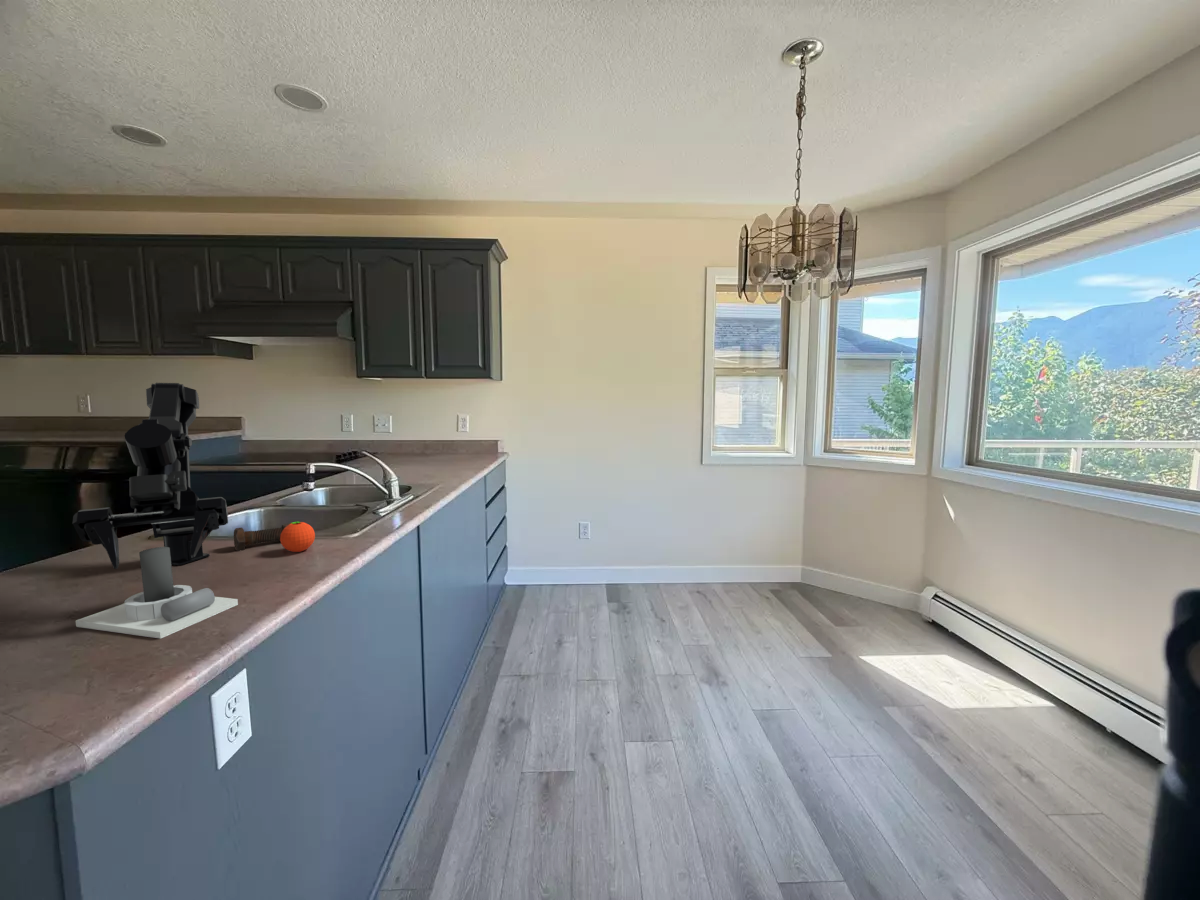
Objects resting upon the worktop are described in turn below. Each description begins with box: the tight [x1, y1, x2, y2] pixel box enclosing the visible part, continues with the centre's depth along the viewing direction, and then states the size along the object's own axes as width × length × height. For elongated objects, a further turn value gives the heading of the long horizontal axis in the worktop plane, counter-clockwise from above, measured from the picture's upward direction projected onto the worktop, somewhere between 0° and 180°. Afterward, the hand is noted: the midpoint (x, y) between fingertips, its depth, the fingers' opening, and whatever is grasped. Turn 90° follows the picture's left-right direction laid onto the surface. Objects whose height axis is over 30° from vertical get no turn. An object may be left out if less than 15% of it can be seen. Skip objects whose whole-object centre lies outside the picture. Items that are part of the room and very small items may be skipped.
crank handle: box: [139, 546, 174, 602], centre depth 77 cm, size 4×4×10 cm
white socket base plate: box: [75, 584, 239, 640], centre depth 78 cm, size 17×12×4 cm
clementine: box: [279, 521, 316, 553], centre depth 111 cm, size 8×7×7 cm
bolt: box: [233, 522, 291, 552], centre depth 117 cm, size 6×5×15 cm
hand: (155, 561), depth 77 cm, fingers open, 9 cm apart
